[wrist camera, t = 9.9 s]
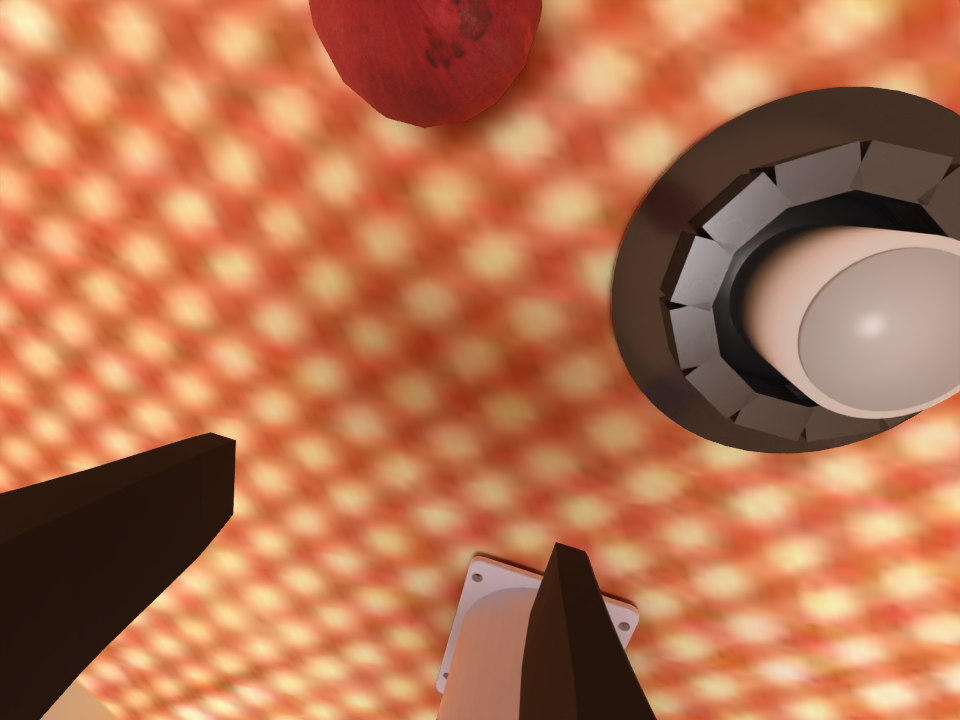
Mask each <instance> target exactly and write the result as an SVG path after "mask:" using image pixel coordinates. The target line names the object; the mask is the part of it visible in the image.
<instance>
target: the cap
mask: <svg viewBox="0 0 960 720" xmlns="http://www.w3.org/2000/svg"><path fill="white" fill-rule="evenodd" d="M729 309H730V315H731V319H732V322H733V325H734V327H735V329H736V331H737V333H738V334H739V336H740V337H741V338H742V340H743V341H744V342H745V343H746V344H747V345H748V346H750V347H751V348H752V349H753V350H754V351H755V352H757V353H758V354H759V355H760V356H761V357H762V358H764V359H765V360H766V361H767V362H768V363H769V364H771V365H772V366H773V367H774V368H775V369H776V370H778V371H779V372H780V373H781V374H782V375H783V376H785V377H786V378H787V379H788V380H789V381H790V382H792V383H793V384H794V385H795V386H796V387H797V388H799V389H800V390H801V391H802V392H803V393H804V394H806V395H807V396H808V397H809V398H811V399H812V400H813V401H815V402H816V403H817V404H819V405H821V406H823V407H825V408H826V409H829V410H831V411H834V412H836V413H839V414H843V415H847V416H850V417H857V418H869V419H880V418H892V417H898V416H904V415H908V414H911V413H915V412H919V411H921V410H924V409H927V408H929V407H932V406H934V405H936V404H938V403H940V402H942V401H944V400H946V399H948V398H949V397H951V396H952V395H954V394H956V393H957V392H959V391H960V241H958V240H955V239H952V238H948V237H944V236H939V235H932V234H923V233H914V232H905V231H895V230H886V229H877V228H868V227H859V226H850V225H841V224H831V223H811V224H805V225H800V226H796V227H792V228H790V229H787V230H785V231H782V232H780V233H778V234H776V235H774V236H772V237H771V238H769V239H768V240H766V241H765V242H763V243H762V244H761V245H760V246H758V247H757V248H756V249H755V250H754V251H753V252H752V253H751V254H750V255H749V256H748V257H747V259H746V260H745V261H744V263H743V264H742V265H741V267H740V269H739V270H738V272H737V274H736V276H735V279H734V281H733V284H732V288H731V291H730V299H729Z"/></svg>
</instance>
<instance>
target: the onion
mask: <svg viewBox="0 0 960 720" xmlns="http://www.w3.org/2000/svg"><path fill="white" fill-rule="evenodd" d="M309 5H310V10H311V15H312V20H313V25H314V28H315V30H316V32H317V34H318V36H319V38H320V40H321V42H322V43H323V45H324V47H325V49H326V51H327V53H328V55H329V56H330V58H331V60H332V62H333V64H334V66H335V67H336V69H337V71H338V73H339V75H340V77H341V78H342V80H343V82H344V83H346V84H347V85H348V86H349V87H350V88H351V89H352V90H354V91H355V92H356V93H357V94H358V95H359V96H361V97H362V98H363V99H364V100H365V101H366V102H367V103H369V104H370V105H371V106H372V107H373V108H374V109H376V110H377V111H378V112H379V113H381V114H382V115H384V116H385V117H387V118H390V119H393V120H397V121H401V122H404V123H408V124H412V125H415V126H419V127H423V128H427V127H432V126H437V125H443V124H449V123H457V122H465V121H467V120H469V119H470V118H472V117H474V116H475V115H477V114H479V113H480V112H482V111H484V110H485V109H487V108H489V107H490V106H492V105H494V104H496V103H497V102H498V101H499V99H500V98H501V97H502V95H503V94H504V93H505V92H506V90H507V89H508V88H509V86H510V85H511V84H512V83H513V81H514V80H515V79H516V77H517V76H518V75H519V74H520V72H521V71H522V70H523V69H524V66H525V63H526V60H527V57H528V54H529V51H530V48H531V45H532V42H533V39H534V36H535V33H536V30H537V27H538V24H539V21H540V16H541V10H542V0H309Z"/></svg>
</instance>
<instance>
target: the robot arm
mask: <svg viewBox="0 0 960 720" xmlns="http://www.w3.org/2000/svg"><path fill="white" fill-rule="evenodd" d="M235 450H236V440H233V439H230V438H227V437H224V436H221V435H217V434H214V433H207V434H203V435H199V436H195V437H191V438H188V439H185V440H181V441H178V442H175V443H171V444H168V445H165V446H162V447H158V448H155V449H152V450H149V451H146V452H143V453H139V454H136V455H133V456H130V457H127V458H123V459H120V460H117V461H114V462H110V463H107V464H104V465H101V466H97V467H94V468H91V469H88V470H84V471H80V472H77V473H73V474H70V475H66V476H63V477H59V478H56V479H52V480H48V481H45V482H41V483H38V484H34V485H31V486H27V487H23V488H20V489H16V490H12V491H8V492H4V493H0V720H40V719H41V718H42V717H43V715H44V714H45V713H46V712H47V711H48V710H49V709H50V707H51V706H52V705H53V704H54V703H55V702H56V700H57V699H58V698H59V697H60V696H61V695H62V694H63V693H64V692H65V690H66V689H67V688H68V687H69V686H70V685H71V684H72V682H73V681H74V680H75V679H76V678H77V677H78V676H79V674H80V673H81V672H82V671H83V670H84V669H85V668H86V667H87V666H88V665H89V664H90V663H91V662H92V661H93V660H94V659H95V658H96V657H97V656H98V655H99V654H100V653H101V651H102V650H103V649H104V648H105V647H106V646H107V645H108V644H110V643H111V642H112V641H113V640H114V639H115V638H116V637H117V636H118V635H119V634H120V633H121V632H122V631H123V630H124V629H125V628H126V627H127V626H128V625H129V624H130V623H131V622H132V621H133V620H134V619H135V618H136V617H137V616H138V615H139V614H140V613H142V612H143V611H144V610H145V609H146V608H147V607H148V606H149V605H150V604H151V603H152V602H153V601H154V600H155V599H156V598H157V597H158V596H159V595H160V594H161V593H162V592H163V591H164V590H165V589H166V588H167V587H168V586H169V585H170V584H171V583H172V582H173V581H174V580H175V579H176V578H178V577H179V576H180V575H181V574H182V573H183V572H184V571H185V570H186V569H187V568H188V567H189V566H190V565H191V564H192V563H193V562H194V561H195V560H196V559H197V558H198V557H199V556H200V555H201V553H202V552H203V551H204V550H205V549H206V548H207V546H208V545H209V544H210V543H211V542H212V540H213V539H214V538H215V537H216V536H217V534H218V533H219V532H220V530H221V529H222V528H223V527H224V525H225V524H226V523H227V521H228V520H229V519H230V518H231V516H232V515H233V506H234V478H235ZM475 573H476V574H480V575H481V576H477V575H475ZM622 622H626V623H625V624H623V623H622ZM638 622H639V613H638V610H637V609H636V608H635V607H634V606H632V605H630V604H627V603H624V602H621V601H618V600H615V599H612V598H609V597H606V596H603V595H602V594H601V591H600V589H599V586H598V583H597V580H596V578H595V575H594V572H593V569H592V566H591V563H590V560H589V557H588V556H587V554H586V552H585V551H582V550H579V549H576V548H573V547H570V546H567V545H564V544H560V543H557V542H556V543H555V546H554V549H553V551H552V554H551V557H550V560H549V562H548V565H547V568H546V571H545V573H544V576H541V575H538V574H535V573H532V572H529V571H526V570H523V569H520V568H517V567H514V566H510V565H507V564H504V563H501V562H498V561H495V560H492V559H489V558H486V557H482V556H476V557H474V558H472V560H471V562H470V566H469V569H468V573H467V576H466V580H465V583H464V587H463V590H462V594H461V597H460V601H459V605H458V608H457V612H456V615H455V619H454V622H453V626H452V629H451V633H450V636H449V640H448V643H447V647H446V650H445V654H444V657H443V661H442V664H441V668H440V671H439V675H438V678H437V682H436V688H437V690H438V691H439V692H440V693H442V694H443V696H442V700H441V704H440V708H439V712H438V715H437V719H436V720H657V719H656V717H655V715H654V713H653V711H652V709H651V707H650V705H649V702H648V700H647V698H646V696H645V694H644V692H643V690H642V688H641V686H640V684H639V682H638V680H637V678H636V675H635V673H634V671H633V669H632V667H631V664H630V662H629V660H628V658H627V655H626V653H625V649H626V647H627V645H628V643H629V640H630V638H631V636H632V634H633V632H634V630H635V628H636V626H637V624H638Z"/></svg>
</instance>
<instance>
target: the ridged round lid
mask: <svg viewBox="0 0 960 720" xmlns="http://www.w3.org/2000/svg"><path fill="white" fill-rule="evenodd" d="M811 223H831V224H841V225H850V226H859V227H868V228H877V229H886V230H895V231H905V232H914V233H923V234H932V235H939V236H944V237H948V238H952V239H955V240H958V241H960V116H959V115H958V114H956V113H955V112H954V111H952V110H950V109H948V108H945V107H943V106H941V105H939V104H937V103H935V102H933V101H930V100H928V99H926V98H922V97H919V96H915V95H912V94H908V93H905V92H901V91H896V90H889V89H881V88H873V87H836V88H829V89H822V90H815V91H808V92H804V93H800V94H796V95H793V96H789V97H785V98H781V99H778V100H775V101H773V102H770V103H768V104H765V105H763V106H760V107H758V108H755V109H753V110H750V111H748V112H746V113H744V114H742V115H740V116H738V117H736V118H734V119H732V120H731V121H729V122H727V123H725V124H723V125H721V126H719V127H717V128H716V129H715V130H713V131H712V132H710V133H709V134H707V135H706V136H704V137H703V138H702V139H700V140H699V141H697V142H696V143H694V144H693V145H692V146H691V147H690V148H689V149H687V150H686V151H685V152H684V153H683V154H682V155H680V156H679V157H678V158H677V159H676V160H675V161H674V162H673V163H672V164H671V165H670V166H669V167H668V168H667V169H666V170H665V171H664V172H663V174H662V175H661V176H660V177H659V178H658V179H657V180H656V181H655V182H654V184H653V185H652V187H651V188H650V189H649V191H648V192H647V194H646V195H645V196H644V198H643V199H642V201H641V202H640V204H639V205H638V207H637V209H636V211H635V213H634V214H633V216H632V218H631V220H630V222H629V223H628V226H627V228H626V231H625V233H624V236H623V238H622V241H621V243H620V246H619V249H618V253H617V257H616V260H615V264H614V268H613V276H612V284H611V314H612V321H613V327H614V332H615V336H616V339H617V342H618V346H619V349H620V352H621V355H622V358H623V360H624V362H625V364H626V366H627V368H628V370H629V373H630V374H631V376H632V377H633V379H634V380H635V382H636V383H637V385H638V386H639V388H640V389H641V391H642V392H643V393H644V394H645V395H646V396H647V398H648V399H649V400H650V401H651V402H652V403H653V404H654V405H655V406H656V407H657V408H658V409H659V410H660V411H662V412H663V413H664V414H665V415H666V416H667V417H669V418H670V419H671V420H673V421H674V422H676V423H677V424H679V425H680V426H682V427H683V428H685V429H687V430H689V431H691V432H693V433H695V434H697V435H699V436H701V437H703V438H705V439H708V440H711V441H713V442H716V443H719V444H722V445H725V446H729V447H733V448H738V449H742V450H746V451H755V452H764V453H802V452H813V451H820V450H825V449H830V448H835V447H841V446H844V445H848V444H851V443H854V442H858V441H861V440H864V439H867V438H870V437H872V436H874V435H877V434H879V433H882V432H884V431H887V430H889V429H891V428H893V427H895V426H897V425H899V424H901V423H902V422H904V421H906V420H908V419H910V418H912V417H914V416H915V415H917V414H918V413H920V412H921V411H923V410H921V411H919V412H915V413H911V414H908V415H904V416H898V417H892V418H880V419H869V418H857V417H850V416H847V415H843V414H839V413H836V412H834V411H831V410H829V409H826V408H825V407H823V406H821V405H819V404H817V403H816V402H815V401H813V400H812V399H811V398H809V397H808V396H807V395H806V394H804V393H803V392H802V391H801V390H800V389H799V388H797V387H796V386H795V385H794V384H793V383H792V382H790V381H789V380H788V379H787V378H786V377H785V376H783V375H782V374H781V373H780V372H779V371H778V370H776V369H775V368H774V367H773V366H772V365H771V364H769V363H768V362H767V361H766V360H765V359H764V358H762V357H761V356H760V355H759V354H758V353H757V352H755V351H754V350H753V349H752V348H751V347H750V346H748V345H747V344H746V343H745V342H744V341H743V340H742V338H741V337H740V336H739V334H738V333H737V331H736V329H735V327H734V325H733V322H732V319H731V315H730V309H729V299H730V291H731V288H732V284H733V281H734V279H735V276H736V274H737V272H738V270H739V269H740V267H741V265H742V264H743V263H744V261H745V260H746V259H747V257H748V256H749V255H750V254H751V253H752V252H753V251H754V250H755V249H756V248H757V247H758V246H760V245H761V244H762V243H763V242H765V241H766V240H768V239H769V238H771V237H772V236H774V235H776V234H778V233H780V232H782V231H785V230H787V229H790V228H792V227H796V226H800V225H805V224H811Z"/></svg>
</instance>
